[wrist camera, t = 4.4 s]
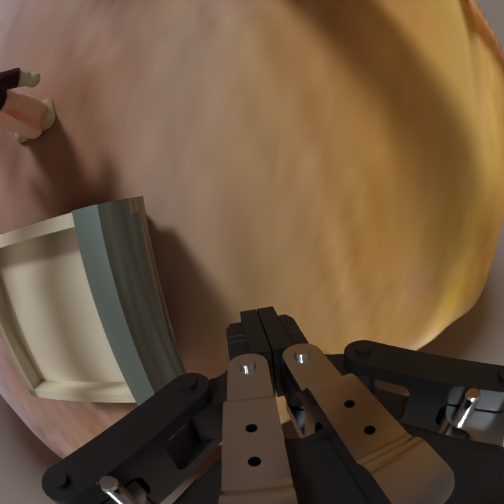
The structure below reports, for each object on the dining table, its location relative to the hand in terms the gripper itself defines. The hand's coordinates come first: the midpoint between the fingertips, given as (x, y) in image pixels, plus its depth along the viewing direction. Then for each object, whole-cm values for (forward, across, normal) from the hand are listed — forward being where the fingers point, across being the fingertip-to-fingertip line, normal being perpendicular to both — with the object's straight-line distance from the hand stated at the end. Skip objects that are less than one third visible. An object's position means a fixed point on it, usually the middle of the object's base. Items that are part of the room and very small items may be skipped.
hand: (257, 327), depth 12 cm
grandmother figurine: (+8, +14, -15) cm, 22 cm away
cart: (+8, +12, 0) cm, 15 cm away
